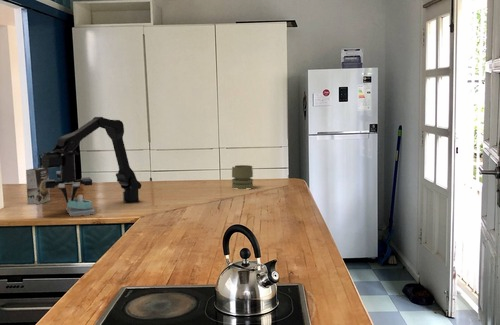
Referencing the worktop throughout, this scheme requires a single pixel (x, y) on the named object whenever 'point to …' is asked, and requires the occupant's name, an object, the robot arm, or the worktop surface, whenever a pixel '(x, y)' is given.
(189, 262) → the worktop surface
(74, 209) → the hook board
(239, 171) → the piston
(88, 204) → the teal ring
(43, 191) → the coffee box
